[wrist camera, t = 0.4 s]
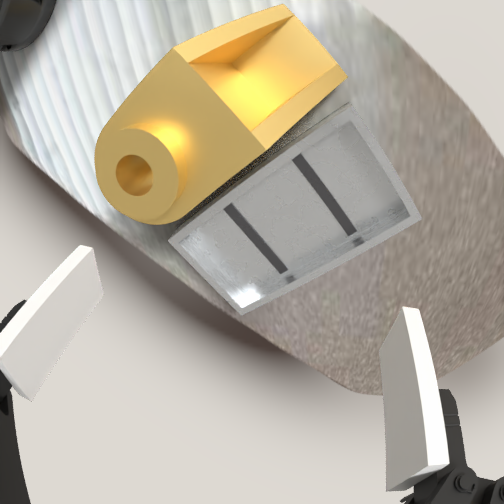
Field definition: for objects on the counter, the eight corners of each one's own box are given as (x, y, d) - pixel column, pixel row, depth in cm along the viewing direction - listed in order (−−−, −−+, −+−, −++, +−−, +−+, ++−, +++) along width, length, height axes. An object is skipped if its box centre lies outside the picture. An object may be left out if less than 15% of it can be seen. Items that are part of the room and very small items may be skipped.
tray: (178, 227, 41) (167, 240, 39) (348, 101, 29) (352, 105, 26) (246, 298, 46) (241, 315, 43) (414, 205, 34) (422, 218, 31)
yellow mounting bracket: (205, 181, 37) (142, 254, 24) (154, 125, 35) (65, 171, 21) (344, 76, 28) (369, 81, 15) (286, 9, 25) (260, -37, 12)
